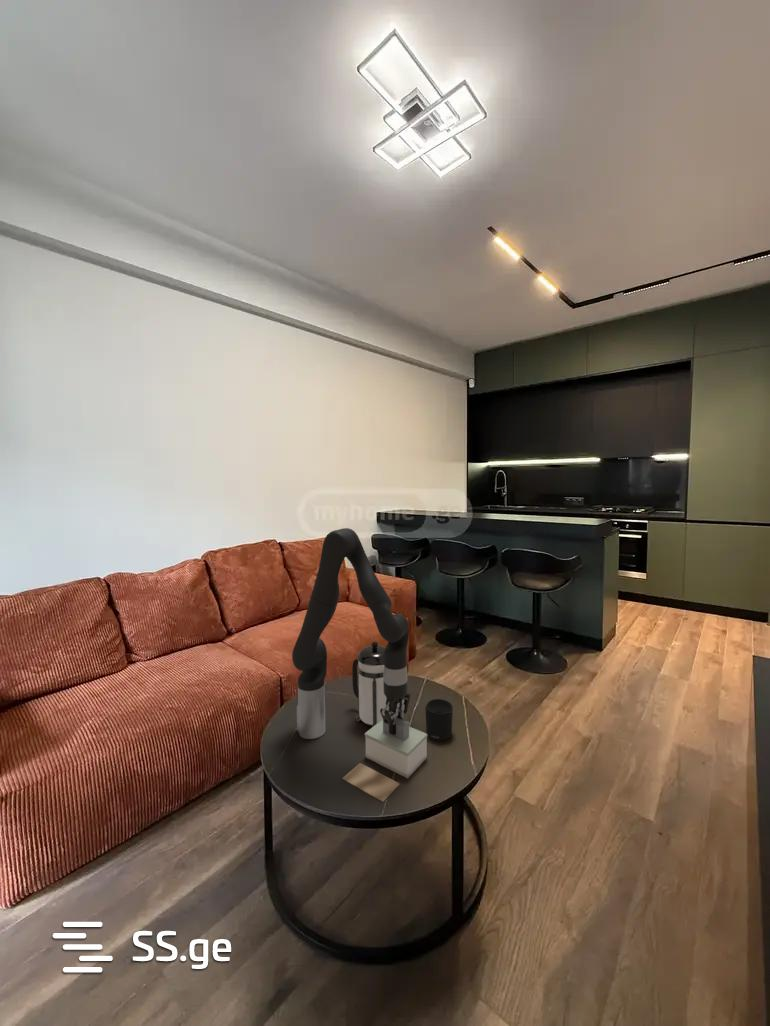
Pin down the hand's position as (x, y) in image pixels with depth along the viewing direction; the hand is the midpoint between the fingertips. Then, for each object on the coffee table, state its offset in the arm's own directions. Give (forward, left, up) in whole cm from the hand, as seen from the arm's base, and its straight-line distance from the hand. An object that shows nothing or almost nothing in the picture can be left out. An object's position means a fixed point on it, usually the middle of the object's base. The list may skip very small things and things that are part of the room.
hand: (395, 731), depth 130 cm
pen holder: (+5, +19, -9) cm, 22 cm away
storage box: (0, 0, -9) cm, 9 cm away
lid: (0, 0, -3) cm, 3 cm away
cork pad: (0, -13, -9) cm, 16 cm away
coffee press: (-19, +12, -9) cm, 24 cm away
